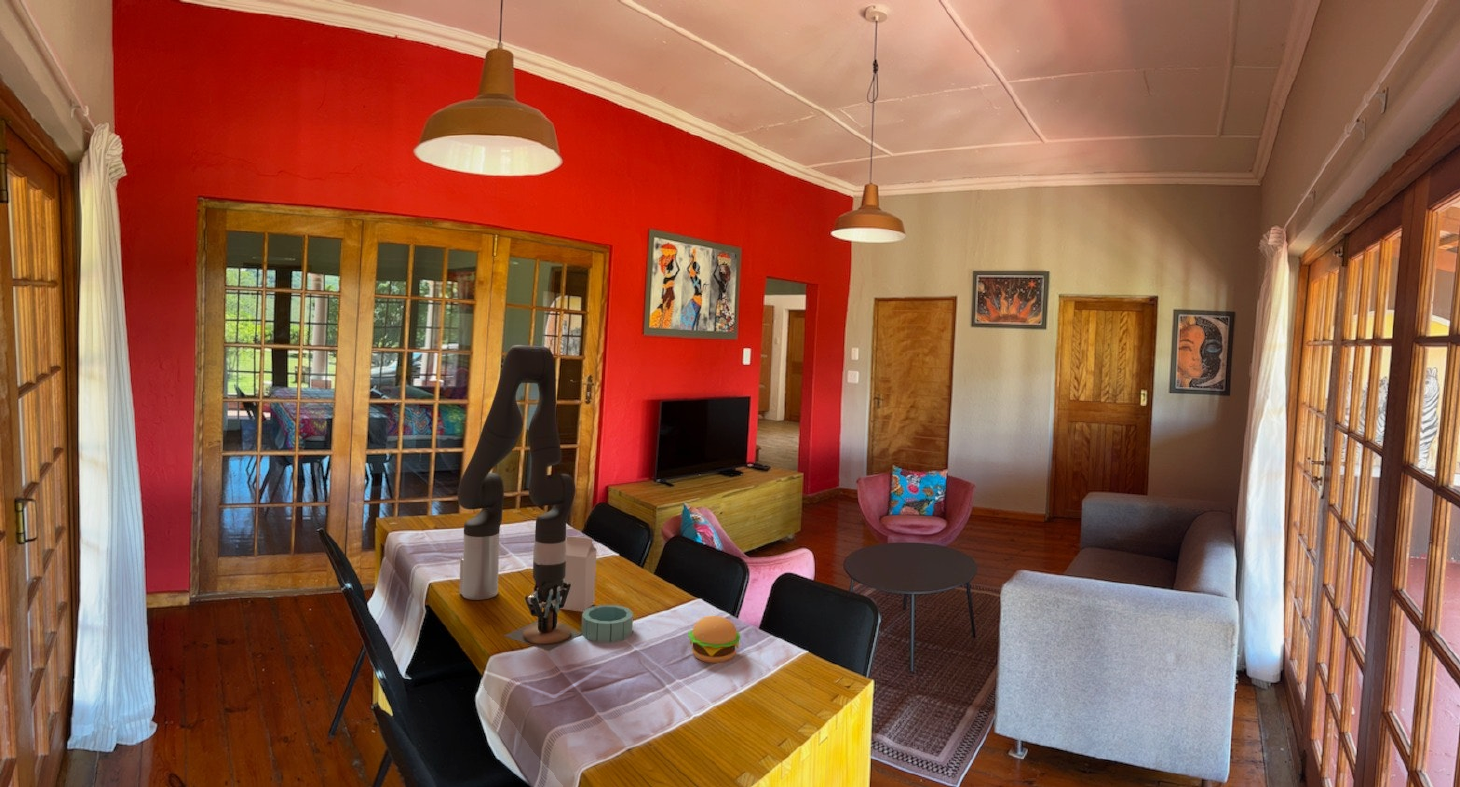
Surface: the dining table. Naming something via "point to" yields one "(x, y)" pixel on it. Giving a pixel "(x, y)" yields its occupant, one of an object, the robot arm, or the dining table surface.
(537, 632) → the lid
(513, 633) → the mat
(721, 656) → the hamburger
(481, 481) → the robot arm
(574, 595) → the milk carton
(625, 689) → the dining table surface
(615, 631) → the bowl
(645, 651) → the dining table surface
